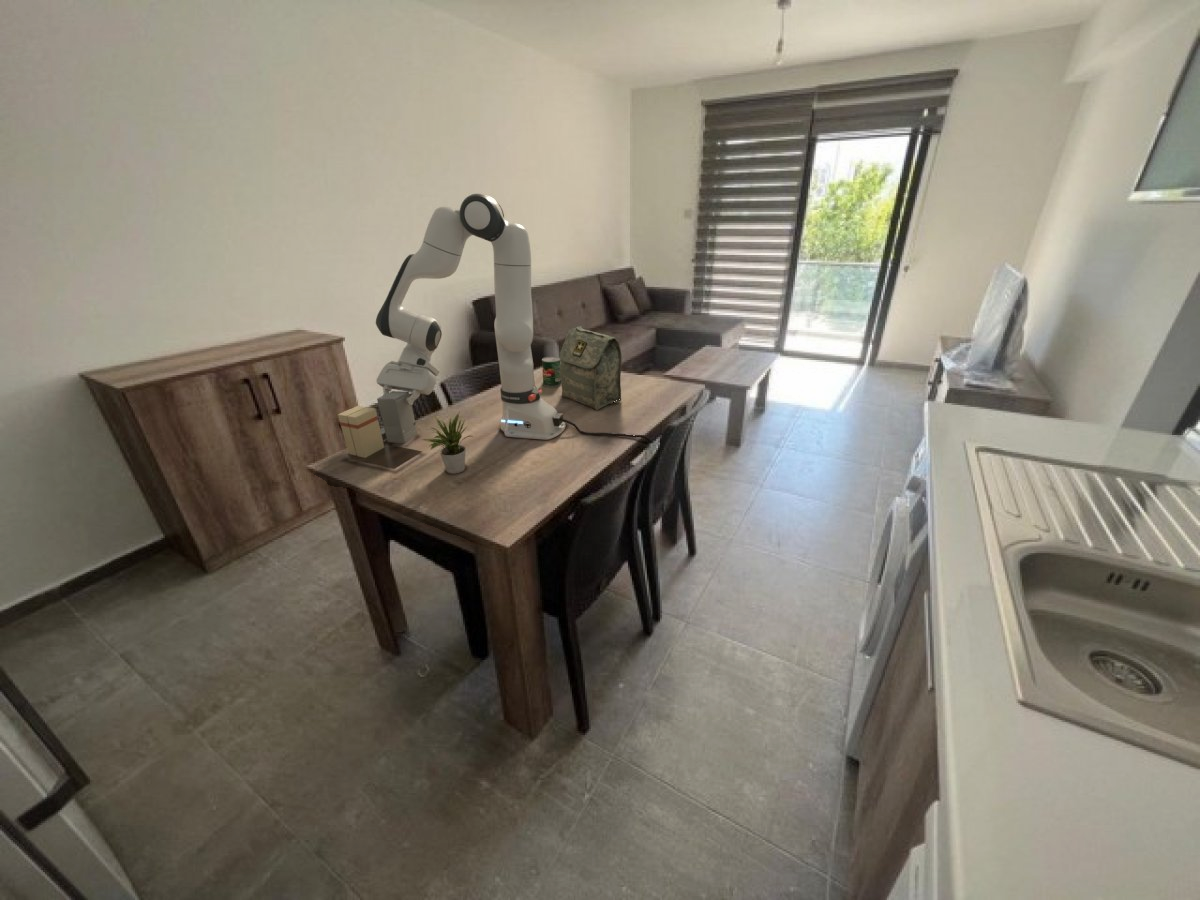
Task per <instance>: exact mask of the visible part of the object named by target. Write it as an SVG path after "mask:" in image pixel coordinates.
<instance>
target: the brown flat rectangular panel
mask: <svg viewBox="0 0 1200 900" xmlns="http://www.w3.org/2000/svg"><path fill="white" fill-rule="evenodd" d="M421 453H423V451H422V450H418V449H414V448H409V447H404V446H399V445H393V444H389V443H384V448H382V449H381V450H379V451H377V452H375V453H373V454H371V455H370V456H368V457H366V458H364V457H360V456H355V455H351V454H348V453H347V454H346V455H344V456H342V458H344V459H348V460H353V461H357V462H361V463H366V464H370V465H375V466H380V467H384V468H388V469H392V470H395V469H397V468H399V467H400V466H402V465H403V464H405V463H407V462H409V461H410V460H412V459H413V458H415V457H417V456H418V455H420V454H421Z"/></svg>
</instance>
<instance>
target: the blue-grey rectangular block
mask: <svg viewBox="0 0 1200 900" xmlns="http://www.w3.org/2000/svg"><path fill="white" fill-rule="evenodd" d="M380 430H381V435H382V439H383V441H384V440H387V437H386V433H385V429H384V426H383V427H380Z"/></svg>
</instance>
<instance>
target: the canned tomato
mask: <svg viewBox="0 0 1200 900" xmlns="http://www.w3.org/2000/svg"><path fill="white" fill-rule="evenodd" d="M541 367H542V368H541V369H542V382H543V383H542V384H543V386H544V387H550V388H552V387H553V388H554V387H559V386H561V373H560V367H561V360H560V357H559V356H545V357H543V358H542V359H541Z"/></svg>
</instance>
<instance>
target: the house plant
mask: <svg viewBox="0 0 1200 900" xmlns="http://www.w3.org/2000/svg"><path fill="white" fill-rule="evenodd" d="M460 414H461V411H459V412H457V414H456V415H455V416H454V418H453V420H452V418H450V419H449V421H448V428H447V425H446V423H445V421H443V420H441V419H438V418H436V417H434V416H432V419H434V420H435V421H436V423H437V425H438V426H439V427H440V429H441V431H442V432H443V433H442V432H441V431H440V430H438V429H437V428H434V427H431V426H423V429H424V428H425V429H429V430H430V431H432V432H435V434H437V435H436V436H435V437H434V438H424V439H422V441H425V442H426V443H431V444H430V445H429V446H428V448H430V451H431V450H433V449H434V448H437V447H440V450H439V454H440V456H441V459H442V462H443V465H444V468H445V470H446V472H447V473H448V474H454V475H455V474H460V473H462V472H464V471H465V469H466V447H465V446H464V445H462V444H461V443H462V441H464V440H465V439H466V438H469V437H473V438H474V436H473V435H467V436H465V437H464V438H462V436H463V435H462V434H463V433H464V432H465V430H466V429H467V428H468V427H469V426H468V425H467V426H466V427H464V424H465V420H466V419H464V420H463V417H462V416H461V418H460V417H459V416H460ZM459 418H460V419H459ZM458 420H459V422H458ZM462 420H463V422H462ZM461 423H462V424H461ZM457 424H458V425H457ZM463 427H464V428H463ZM461 439H462V440H461Z"/></svg>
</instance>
